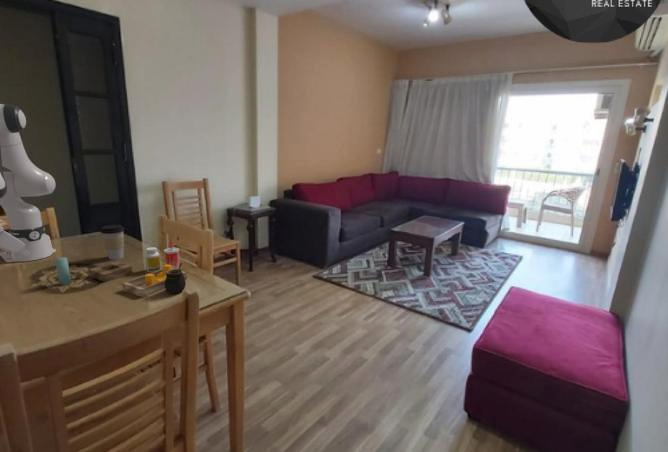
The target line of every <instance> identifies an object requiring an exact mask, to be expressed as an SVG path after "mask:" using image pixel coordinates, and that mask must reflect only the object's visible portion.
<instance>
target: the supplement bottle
mask: <svg viewBox="0 0 668 452" xmlns="http://www.w3.org/2000/svg"><path fill="white" fill-rule="evenodd" d="M144 257H145V268H146V272H148V273H152V272H154V271H157V270H160V269H161V260H160V253H159V252H158V248H157V247H147V248H146V253H145V254H144Z"/></svg>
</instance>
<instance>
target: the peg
mask: <svg viewBox="0 0 668 452" xmlns="http://www.w3.org/2000/svg"><path fill="white" fill-rule="evenodd" d="M54 261H55V266H56V272H57V277H58V283H59V285H60V286H66V285H67V286H68V285H70V284H71V283H72V280H71V272H70V267H69V261H68V258H67V257H66V256H64V257H63V256H62V257H57V258H55V259H54Z"/></svg>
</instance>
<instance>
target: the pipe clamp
mask: <svg viewBox="0 0 668 452" xmlns="http://www.w3.org/2000/svg"><path fill="white" fill-rule="evenodd" d="M162 269H163V271H162V272H161V273H159V274H157V276H156V277H155V274H149V273H146V274H147V275H146V274H144V275H145V280H146V283H145V287H147V286H149V285H152V284H154V283H157V282H159V281H162V280H165V279H166V277H167V276H166V272H167V271H169V270H172V265H168V264H166V263H165V264H164V265H163V266H162Z"/></svg>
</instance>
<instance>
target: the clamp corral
mask: <svg viewBox="0 0 668 452" xmlns="http://www.w3.org/2000/svg"><path fill="white" fill-rule="evenodd" d="M172 269H173V268H172ZM162 271H163V268H160V270H157V271H154V272H148V273H146V274H144V275H140V276H138V277H135V278H133V279H129V280H126V281H124V282H122V283H121V286H122V291H123V292H126V293H130V294H131V295H135V296H138V297H139V298H145V297H148V296H150V295H152V294H154V293H157V292H160V291H162V290H164V289H165V286H164V284H165V280H166V279H165V280H162V281H159V282H157V283H154V284H152V285H149V286H147V287H146V286H144V287H141V286H142V285H146V280H145V275H147V274H155V277H156V276H157V274H159V273H161V272H162ZM182 275H183V277H184V279H185V281H186V280H188V273H187V272H186V271H184V270H182ZM165 290H166V289H165Z"/></svg>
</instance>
